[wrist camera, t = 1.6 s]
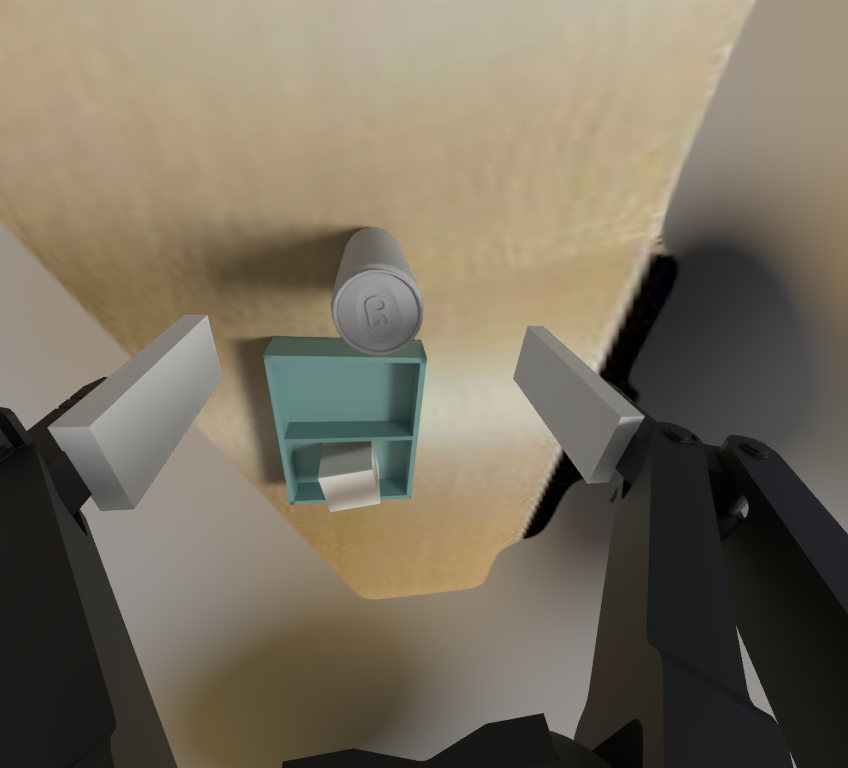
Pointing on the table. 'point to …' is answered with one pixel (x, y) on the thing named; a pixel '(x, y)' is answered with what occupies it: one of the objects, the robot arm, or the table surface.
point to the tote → (344, 408)
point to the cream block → (349, 475)
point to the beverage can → (376, 295)
